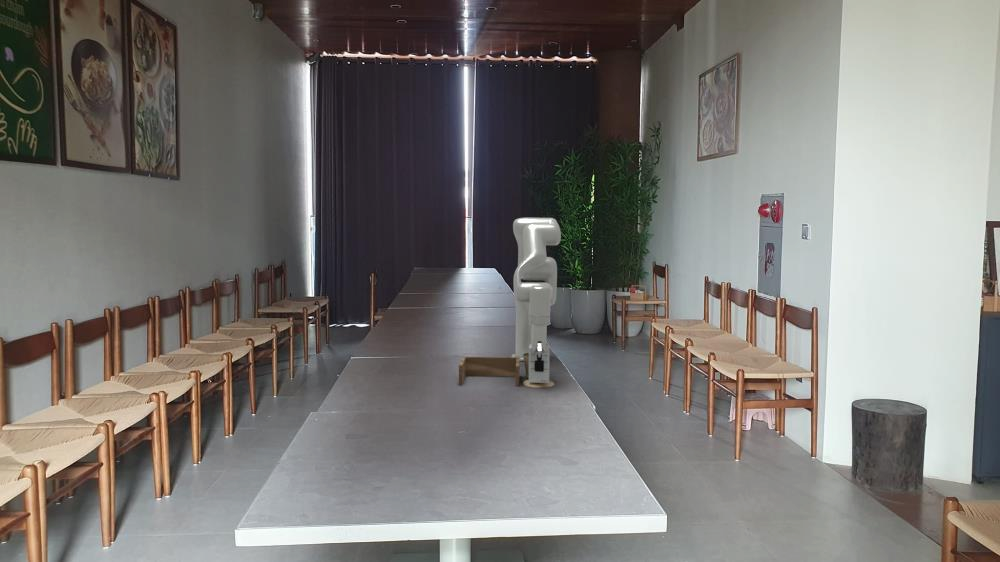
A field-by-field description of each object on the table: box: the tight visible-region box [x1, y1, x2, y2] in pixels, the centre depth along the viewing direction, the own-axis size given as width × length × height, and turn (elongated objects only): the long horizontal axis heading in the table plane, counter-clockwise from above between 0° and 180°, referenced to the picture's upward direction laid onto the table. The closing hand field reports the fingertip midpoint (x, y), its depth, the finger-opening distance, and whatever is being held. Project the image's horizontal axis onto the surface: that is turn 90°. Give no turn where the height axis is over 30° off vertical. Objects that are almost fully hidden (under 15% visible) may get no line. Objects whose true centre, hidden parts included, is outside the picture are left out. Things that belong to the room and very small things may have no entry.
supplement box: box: [528, 344, 550, 383], centre depth 269 cm, size 7×7×13 cm
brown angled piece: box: [458, 356, 521, 387], centre depth 274 cm, size 15×21×7 cm
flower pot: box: [522, 352, 529, 379], centre depth 279 cm, size 9×9×9 cm
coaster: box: [523, 379, 555, 389], centre depth 269 cm, size 11×11×1 cm
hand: (538, 368), depth 269 cm, fingers open, 7 cm apart
